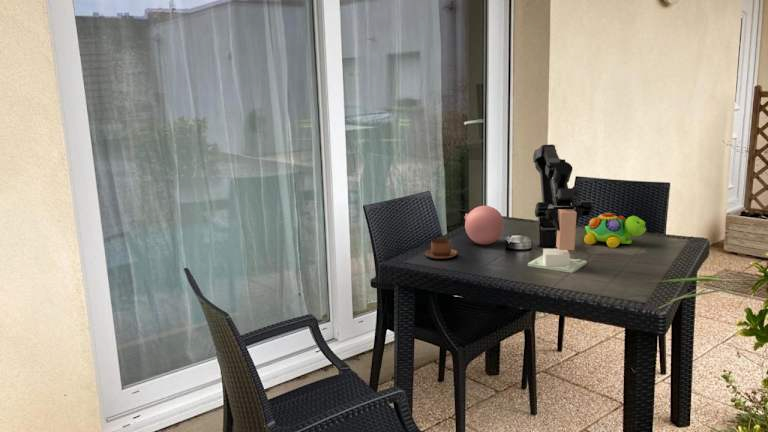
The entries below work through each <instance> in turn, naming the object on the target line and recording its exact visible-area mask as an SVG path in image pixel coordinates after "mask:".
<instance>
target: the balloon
mask: <svg viewBox="0 0 768 432" xmlns="http://www.w3.org/2000/svg"><path fill="white" fill-rule="evenodd" d="M463 217H464V220H465V221H464V229H465V232H466V234H467V236H468V238H470V240H471V241H473V242H474V243H476V244H479V245H485V246H486V245H491V244H493V243H495V242H497V241H498V240H499V239H500V238H501V237H502V236H503V232H504V230H505V221H504V217H503V215H502V214H501V212H500V211H499V210H498V209H497V208H494V207H492V206H489V205H479V206H477V207H475V208H473V209H472V210H471V211H469V213H465V216H463Z"/></svg>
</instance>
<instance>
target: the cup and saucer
mask: <svg viewBox="0 0 768 432" xmlns="http://www.w3.org/2000/svg"><path fill="white" fill-rule="evenodd" d="M430 246H431V247H430V249H427V250H426V251H425V253H424V254H425V256H426V257H429V258H431V259H436V260H445V259H452V258H453V257H455V256H457V254H458V251H457V249H453V248H452V240H451V239H448V238H434V239H431V240H430Z"/></svg>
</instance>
